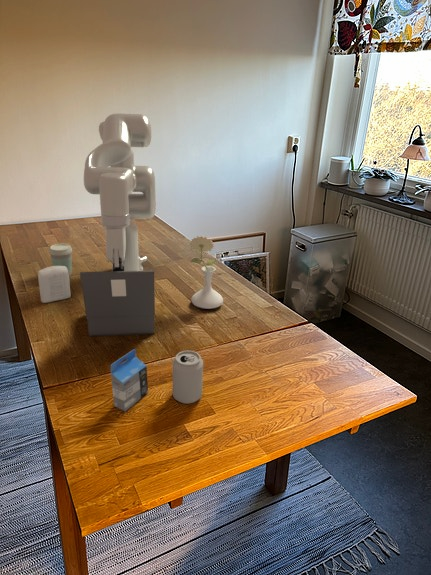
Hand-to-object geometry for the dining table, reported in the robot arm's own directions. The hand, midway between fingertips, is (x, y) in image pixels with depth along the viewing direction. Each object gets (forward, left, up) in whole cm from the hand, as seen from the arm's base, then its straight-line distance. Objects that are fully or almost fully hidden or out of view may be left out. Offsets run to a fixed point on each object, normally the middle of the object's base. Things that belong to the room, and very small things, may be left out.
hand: (118, 279), depth 132 cm
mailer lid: (+1, +1, -4) cm, 4 cm away
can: (+9, +34, -19) cm, 40 cm away
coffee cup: (-16, -51, -19) cm, 56 cm away
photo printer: (-2, -36, -19) cm, 40 cm away
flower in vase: (-34, +6, -19) cm, 39 cm away
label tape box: (+19, +24, -19) cm, 37 cm away
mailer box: (-6, -6, -19) cm, 20 cm away
